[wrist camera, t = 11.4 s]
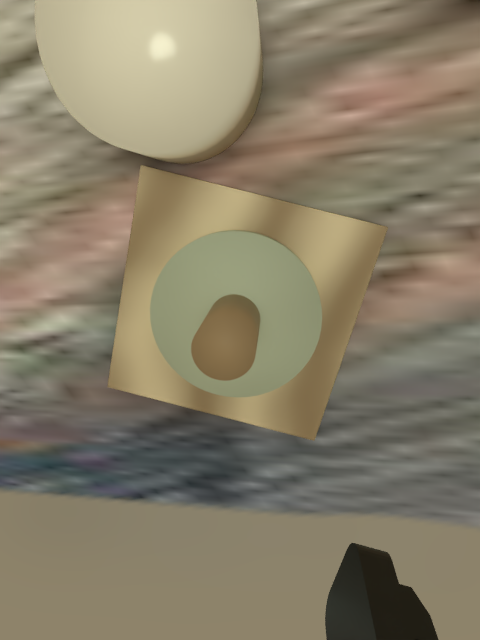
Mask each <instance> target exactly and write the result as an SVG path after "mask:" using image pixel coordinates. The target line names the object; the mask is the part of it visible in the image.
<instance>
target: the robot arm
mask: <svg viewBox="0 0 480 640" xmlns="http://www.w3.org/2000/svg"><path fill="white" fill-rule="evenodd" d="M325 621H326V622H325V625H326V636H327V640H438V637H437V634H436V631H435V628H434V626H433V623H432V620H431V617H430V615H429V613H428V612H427V610H426V609H425V607H424V606H423V604H422V603H421V601H420V600H419V598H418V597H417V595H416V594H415V592H414V591H413V589H412V588H411V587H408V586H404V585H400V584H399V583H398V579H397V576H396V573H395V569H394V566H393V562H392V560H391V557H390V555H389V554H388V553H387V552H384V551H381V550H377V549H373V548H369V547H366V546H362V545H359V544H355V543H351V544H350V545H349V547H348V549H347V551H346V553H345V556H344V558H343V561H342V563H341V566H340V568H339V570H338V573H337V575H336V577H335V580H334V582H333V585H332V587H331V590H330V592H329V595H328V599H327V605H326V617H325Z"/></svg>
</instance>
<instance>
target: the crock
mask: <svg viewBox="0 0 480 640" xmlns="http://www.w3.org/2000/svg"><path fill="white" fill-rule="evenodd" d="M35 28H36V38H37V43H38V48H39V53H40V57H41V60H42V63H43V66H44V69H45V72H46V74H47V76H48V79H49V81H50V83H51V85H52V87H53V89H54V91H55V92H56V94H57V96H58V98H59V99H60V101H61V102H62V103H63V105H64V106H65V107H66V109H67V110H68V112H69V113H70V114H71V115H72V116H73V117H74V118H75V119H76V120H77V121H78V122H79V123H80V124H81V125H82V126H83V127H85V128H86V129H87V130H88V131H89V132H91V133H92V134H94V135H95V136H97V137H98V138H100V139H101V140H103V141H105V142H107V143H110V144H112V145H114V146H116V147H119V148H122V149H126V150H129V151H132V152H135V153H138V154H142V155H145V156H148V157H151V158H155V159H158V160H161V161H164V162H170V163H176V164H188V163H196V162H200V161H204V160H207V159H209V158H212V157H214V156H216V155H218V154H219V153H221V152H223V151H224V150H226V149H227V148H228V147H229V146H231V145H232V144H233V143H234V142H235V141H236V140H237V139H238V138H239V137H240V136H241V134H242V133H243V132H244V130H245V129H246V128H247V126H248V124H249V123H250V121H251V119H252V117H253V115H254V113H255V110H256V108H257V105H258V102H259V99H260V95H261V90H262V84H263V57H262V47H261V38H260V29H259V20H258V11H257V3H256V0H35Z"/></svg>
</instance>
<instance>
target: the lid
mask: <svg viewBox="0 0 480 640" xmlns="http://www.w3.org/2000/svg"><path fill="white" fill-rule="evenodd" d="M150 321H151V327H152V332H153V335H154V338H155V341H156V344H157V346H158V348H159V350H160V352H161V353H162V355H163V357H164V358H165V360H166V361H167V362H168V364H169V365H170V366H171V367H172V368H173V369H174V370H175V371H176V372H177V373H178V374H179V375H180V376H181V377H182V378H184V379H185V380H186V381H187V382H189V383H191V384H192V385H194V386H196V387H198V388H200V389H202V390H204V391H206V392H210V393H213V394H216V395H221V396H226V397H251V396H257V395H261V394H264V393H268V392H270V391H273V390H275V389H277V388H279V387H281V386H283V385H284V384H286V383H288V382H289V381H290V380H291V379H293V378H294V377H295V376H296V375H297V374H298V373H299V372H300V371H301V370H302V369H303V368H304V367H305V365H306V364H307V363H308V361H309V360H310V358H311V356H312V355H313V353H314V351H315V349H316V346H317V344H318V341H319V337H320V333H321V326H322V307H321V301H320V296H319V293H318V290H317V287H316V285H315V282H314V280H313V278H312V276H311V274H310V272H309V271H308V269H307V268H306V266H305V265H304V263H303V262H302V261H301V260H300V259H299V258H298V256H297V255H296V254H294V253H293V252H292V251H291V250H290V249H289V248H288V247H286V246H284V245H283V244H281V243H280V242H278V241H276V240H274V239H272V238H270V237H268V236H265V235H262V234H259V233H256V232H250V231H245V230H228V231H220V232H216V233H211V234H208V235H206V236H203V237H201V238H199V239H197V240H195V241H193V242H191V243H189V244H187V245H186V246H185V247H183V248H182V249H181V250H179V251H178V252H177V253H176V254H175V255H174V256H173V257H172V258H171V259H170V260H169V261H168V262H167V264H166V265H165V266H164V268H163V269H162V271H161V273H160V275H159V276H158V278H157V281H156V283H155V286H154V289H153V293H152V297H151V304H150Z"/></svg>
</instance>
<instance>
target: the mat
mask: <svg viewBox="0 0 480 640" xmlns="http://www.w3.org/2000/svg"><path fill="white" fill-rule="evenodd" d="M387 229H388V227H385V226H381V225H377V224H373V223H369V222H365V221H362V220H358V219H354V218H350V217H346V216H342V215H338V214H334V213H330V212H326V211H322V210H318V209H314V208H310V207H306V206H302V205H298V204H294V203H290V202H286V201H282V200H278V199H274V198H270V197H266V196H262V195H258V194H254V193H250V192H246V191H242V190H238V189H234V188H230V187H226V186H222V185H218V184H214V183H210V182H206V181H202V180H198V179H194V178H190V177H186V176H182V175H178V174H174V173H170V172H166V171H162V170H158V169H154V168H150V167H146V166H142V165H141V168H140V175H139V181H138V188H137V195H136V201H135V208H134V214H133V221H132V228H131V234H130V241H129V248H128V254H127V261H126V267H125V274H124V281H123V287H122V294H121V301H120V307H119V314H118V320H117V327H116V334H115V340H114V347H113V354H112V360H111V367H110V373H109V380H108V387H110V388H114V389H118V390H122V391H125V392H129V393H133V394H137V395H141V396H145V397H148V398H152V399H156V400H160V401H164V402H168V403H172V404H175V405H179V406H183V407H187V408H191V409H195V410H198V411H202V412H206V413H210V414H214V415H218V416H222V417H225V418H229V419H233V420H237V421H241V422H245V423H248V424H252V425H256V426H260V427H264V428H268V429H272V430H275V431H279V432H283V433H287V434H291V435H295V436H298V437H302V438H306V439H310V440H315V437H316V434H317V431H318V429H319V426H320V423H321V420H322V417H323V414H324V411H325V408H326V405H327V403H328V400H329V397H330V394H331V391H332V388H333V385H334V382H335V379H336V376H337V374H338V371H339V368H340V365H341V362H342V359H343V356H344V353H345V350H346V348H347V345H348V342H349V339H350V336H351V333H352V330H353V327H354V324H355V322H356V319H357V316H358V313H359V310H360V307H361V304H362V301H363V298H364V296H365V293H366V290H367V287H368V284H369V281H370V278H371V275H372V272H373V270H374V267H375V264H376V261H377V258H378V255H379V252H380V249H381V246H382V243H383V241H384V238H385V235H386V232H387ZM228 230H245V231H250V232H256V233H259V234H262V235H265V236H268V237H270V238H272V239H274V240H276V241H278V242H280V243H281V244H283V245H284V246H286V247H288V248H289V249H290V250H291V251H292V252H293V253H294V254H296V255H297V256H298V258H299V259H300V260H301V261H302V262H303V263H304V265H305V266H306V268H307V269H308V271H309V272H310V274H311V276H312V278H313V280H314V282H315V285H316V287H317V290H318V293H319V296H320V301H321V307H322V326H321V333H320V337H319V341H318V344H317V346H316V349H315V351H314V353H313V355H312V356H311V358H310V360H309V361H308V363H307V364H306V365H305V367H304V368H303V369H302V370H301V371H300V372H299V373H298V374H297V375H296V376H295V377H294V378H293V379H291V380H290V381H289V382H288V383H286V384H284V385H283V386H281V387H279V388H277V389H275V390H273V391H270V392H268V393H264V394H261V395H257V396H251V397H226V396H221V395H216V394H213V393H210V392H206V391H204V390H202V389H200V388H198V387H196V386H194V385H192V384H191V383H189V382H187V381H186V380H185V379H184V378H182V377H181V376H180V375H179V374H178V373H177V372H176V371H175V370H174V369H173V368H172V367H171V366H170V365H169V364H168V362H167V361H166V360H165V358H164V357H163V355H162V353H161V352H160V350H159V348H158V346H157V344H156V341H155V338H154V335H153V332H152V327H151V321H150V304H151V297H152V293H153V289H154V286H155V283H156V281H157V278H158V276H159V275H160V273H161V271H162V269H163V268H164V266H165V265H166V264H167V262H168V261H169V260H170V259H171V258H172V257H173V256H174V255H175V254H176V253H177V252H178V251H179V250H181V249H182V248H183V247H185V246H186V245H187V244H189V243H191V242H193V241H195V240H197V239H199V238H201V237H203V236H206V235H208V234H211V233H216V232H220V231H228Z"/></svg>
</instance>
